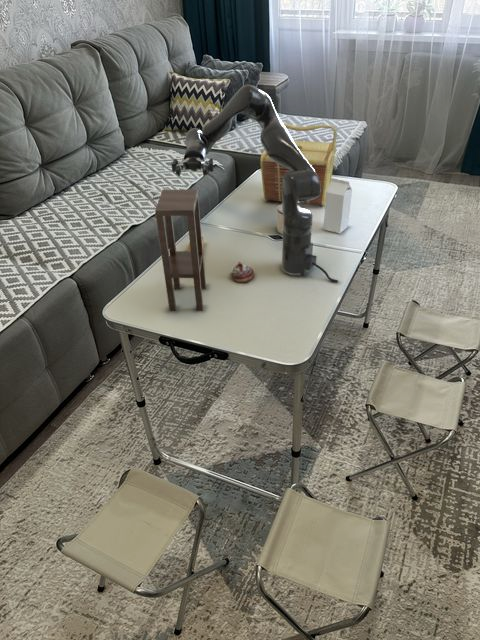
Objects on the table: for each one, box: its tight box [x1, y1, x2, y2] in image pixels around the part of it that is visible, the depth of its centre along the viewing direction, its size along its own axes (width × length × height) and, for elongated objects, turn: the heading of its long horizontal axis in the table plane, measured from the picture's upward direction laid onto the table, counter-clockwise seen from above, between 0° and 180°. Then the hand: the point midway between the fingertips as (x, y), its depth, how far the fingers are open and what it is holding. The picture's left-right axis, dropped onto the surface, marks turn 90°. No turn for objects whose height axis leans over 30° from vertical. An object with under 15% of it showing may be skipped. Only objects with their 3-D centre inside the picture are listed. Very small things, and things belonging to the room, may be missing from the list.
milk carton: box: [322, 177, 353, 234], centre depth 190 cm, size 7×7×19 cm
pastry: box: [230, 261, 255, 283], centre depth 167 cm, size 8×8×5 cm
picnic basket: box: [259, 122, 338, 207], centre depth 210 cm, size 29×26×30 cm
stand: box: [154, 189, 207, 312], centre depth 149 cm, size 14×10×32 cm
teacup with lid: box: [276, 203, 301, 235], centre depth 192 cm, size 12×9×12 cm
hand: (191, 172), depth 170 cm, fingers open, 8 cm apart
